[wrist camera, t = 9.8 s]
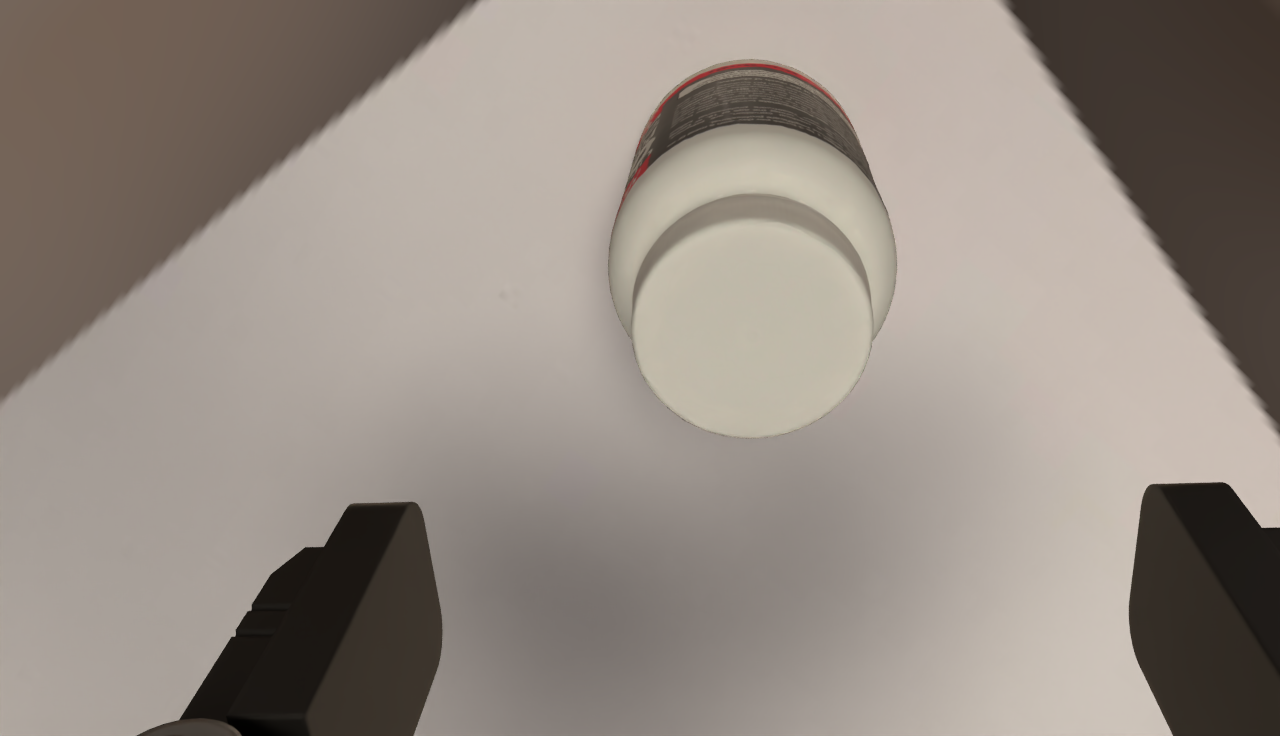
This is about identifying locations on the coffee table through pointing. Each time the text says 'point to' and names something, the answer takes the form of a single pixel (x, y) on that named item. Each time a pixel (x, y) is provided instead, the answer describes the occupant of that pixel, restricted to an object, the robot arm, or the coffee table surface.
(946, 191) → the coffee table surface
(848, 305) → the pill bottle
